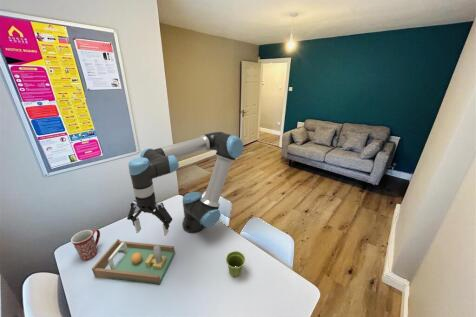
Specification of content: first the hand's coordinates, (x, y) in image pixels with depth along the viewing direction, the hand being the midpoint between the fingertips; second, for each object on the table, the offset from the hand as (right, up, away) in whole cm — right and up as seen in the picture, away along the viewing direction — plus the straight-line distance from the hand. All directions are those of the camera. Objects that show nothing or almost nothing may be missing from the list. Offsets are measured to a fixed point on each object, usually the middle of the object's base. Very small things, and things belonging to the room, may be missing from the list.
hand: (152, 232), depth 90 cm
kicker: (-2, -19, +8) cm, 20 cm away
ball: (-12, -16, +8) cm, 21 cm away
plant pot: (+39, -23, +7) cm, 45 cm away
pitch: (-12, -20, +10) cm, 25 cm away
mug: (-40, -17, +16) cm, 46 cm away
